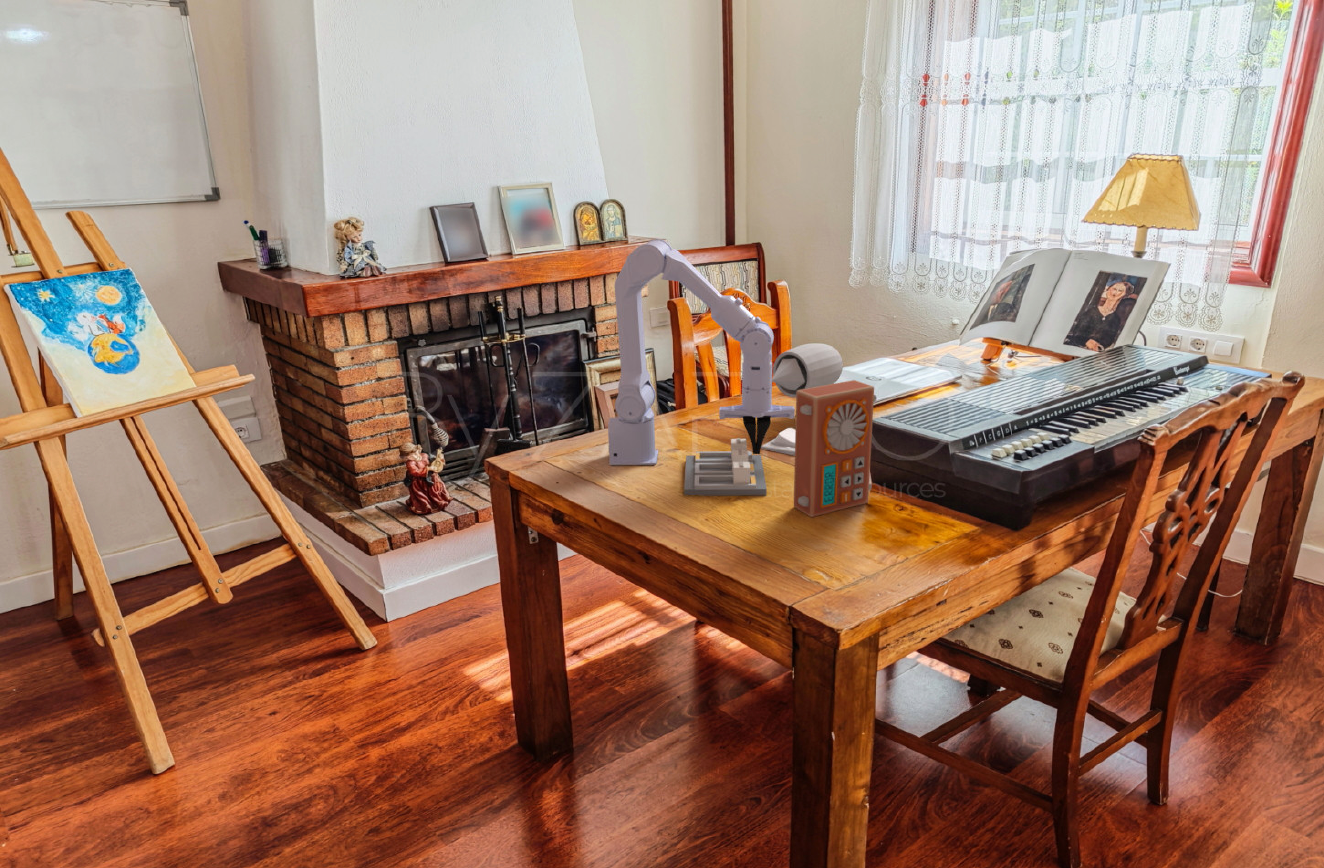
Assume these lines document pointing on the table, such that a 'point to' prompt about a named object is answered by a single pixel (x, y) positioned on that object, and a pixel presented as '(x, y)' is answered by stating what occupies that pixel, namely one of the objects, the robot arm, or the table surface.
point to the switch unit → (721, 475)
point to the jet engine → (806, 368)
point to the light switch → (782, 442)
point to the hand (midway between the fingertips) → (756, 452)
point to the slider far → (738, 444)
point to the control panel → (833, 447)
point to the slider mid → (739, 456)
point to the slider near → (741, 472)
